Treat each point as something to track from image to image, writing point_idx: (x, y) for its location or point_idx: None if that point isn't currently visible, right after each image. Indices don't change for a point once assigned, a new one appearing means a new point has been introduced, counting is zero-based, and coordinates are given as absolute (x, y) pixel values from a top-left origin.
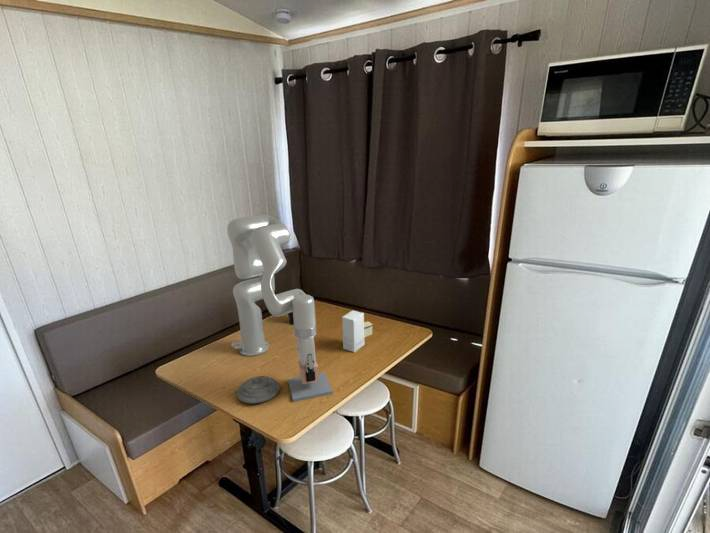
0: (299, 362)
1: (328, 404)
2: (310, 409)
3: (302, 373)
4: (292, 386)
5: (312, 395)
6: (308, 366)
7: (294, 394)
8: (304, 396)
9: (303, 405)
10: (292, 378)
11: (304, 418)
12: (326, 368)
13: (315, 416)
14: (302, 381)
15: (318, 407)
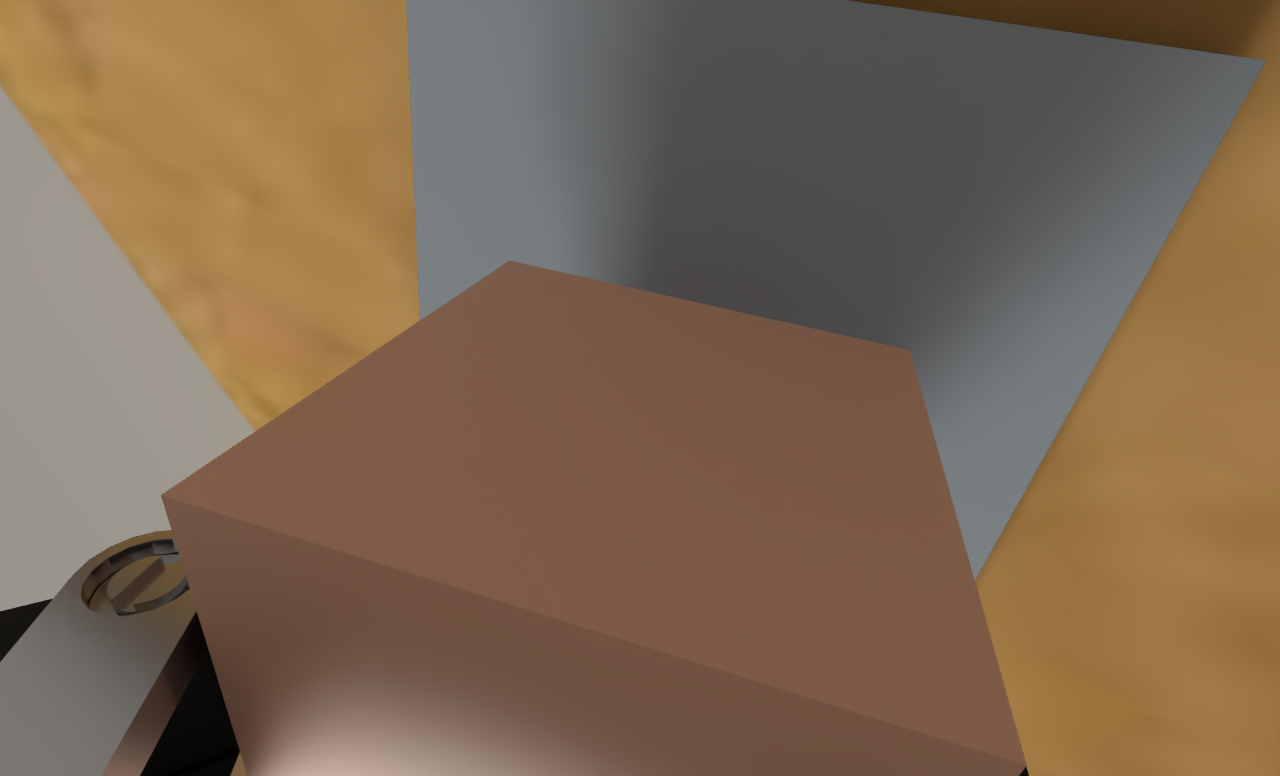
0: (818, 719)
1: (274, 396)
2: (213, 164)
3: (325, 416)
4: (852, 72)
5: (420, 308)
6: (326, 753)
7: (546, 22)
8: (426, 185)
9: (310, 99)
10: (1186, 182)
11: (44, 10)
12: (1038, 746)
13: (83, 171)
14: (476, 290)
15: (238, 275)
